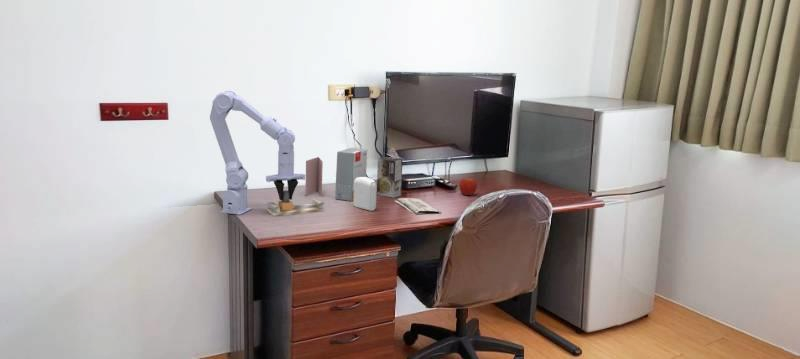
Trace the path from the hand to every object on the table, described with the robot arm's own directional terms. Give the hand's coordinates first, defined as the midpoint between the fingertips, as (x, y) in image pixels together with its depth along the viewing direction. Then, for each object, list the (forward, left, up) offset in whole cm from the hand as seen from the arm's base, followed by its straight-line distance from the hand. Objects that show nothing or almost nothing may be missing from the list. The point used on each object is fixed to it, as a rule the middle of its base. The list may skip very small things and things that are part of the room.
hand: (285, 199), depth 236 cm
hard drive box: (+35, -14, -5) cm, 38 cm away
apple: (+61, -60, -5) cm, 86 cm away
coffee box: (+45, -28, -5) cm, 53 cm away
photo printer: (+19, -25, -5) cm, 32 cm away
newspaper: (+29, -44, -6) cm, 53 cm away
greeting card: (+33, 0, -5) cm, 33 cm away
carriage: (0, 0, -4) cm, 4 cm away
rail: (+3, -3, -5) cm, 7 cm away
